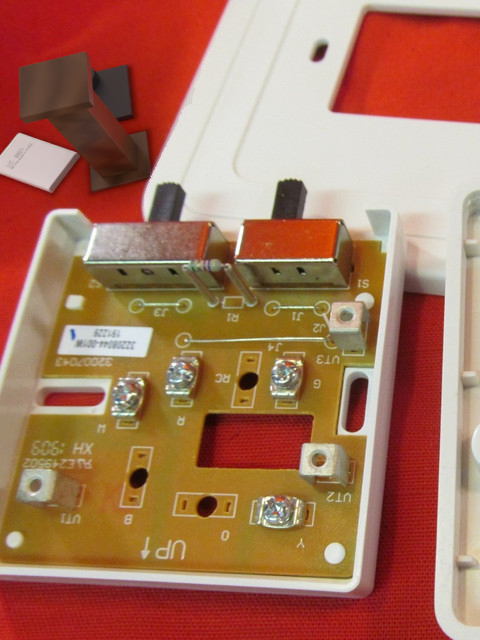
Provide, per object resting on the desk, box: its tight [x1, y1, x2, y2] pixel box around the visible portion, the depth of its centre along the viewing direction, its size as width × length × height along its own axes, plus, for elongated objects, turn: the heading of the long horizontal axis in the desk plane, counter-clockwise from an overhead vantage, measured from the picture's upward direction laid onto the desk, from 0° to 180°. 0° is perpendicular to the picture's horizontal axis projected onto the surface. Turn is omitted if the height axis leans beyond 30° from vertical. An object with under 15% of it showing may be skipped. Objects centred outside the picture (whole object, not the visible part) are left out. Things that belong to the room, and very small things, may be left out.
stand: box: [18, 50, 153, 193], centre depth 108 cm, size 10×10×18 cm
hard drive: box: [0, 132, 81, 194], centre depth 117 cm, size 2×8×12 cm
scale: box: [91, 64, 135, 123], centre depth 121 cm, size 11×13×3 cm
